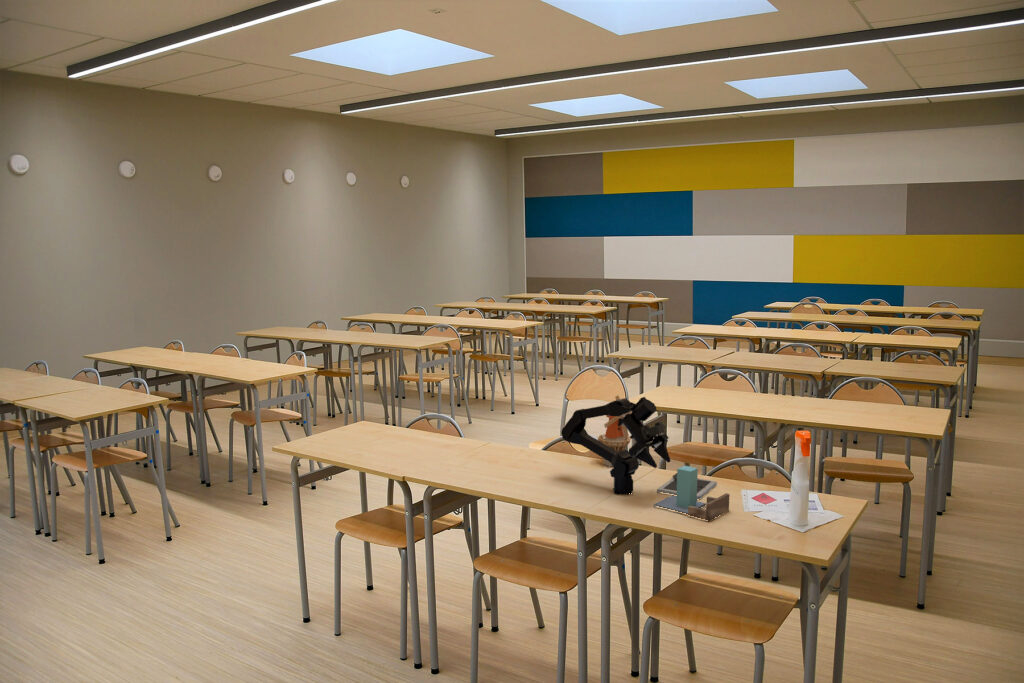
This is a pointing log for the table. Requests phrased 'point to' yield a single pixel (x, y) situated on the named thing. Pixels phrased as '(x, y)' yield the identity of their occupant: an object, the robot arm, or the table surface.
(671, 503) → the slate pad
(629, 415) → the robot arm
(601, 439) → the windmill
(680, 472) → the teal block
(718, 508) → the walnut slot rack
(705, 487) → the picture frame
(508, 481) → the table surface
